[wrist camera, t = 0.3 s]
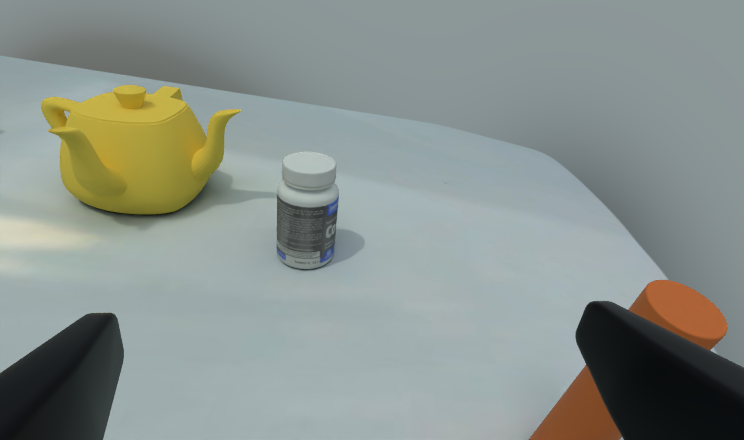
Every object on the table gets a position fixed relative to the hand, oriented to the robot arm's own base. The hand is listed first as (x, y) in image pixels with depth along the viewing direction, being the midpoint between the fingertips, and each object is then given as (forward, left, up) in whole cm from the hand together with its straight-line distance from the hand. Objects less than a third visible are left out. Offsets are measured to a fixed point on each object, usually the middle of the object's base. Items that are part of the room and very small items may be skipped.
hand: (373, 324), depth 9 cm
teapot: (+35, +13, -16) cm, 40 cm away
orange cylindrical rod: (+5, -13, -16) cm, 21 cm away
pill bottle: (+25, -1, -16) cm, 30 cm away
